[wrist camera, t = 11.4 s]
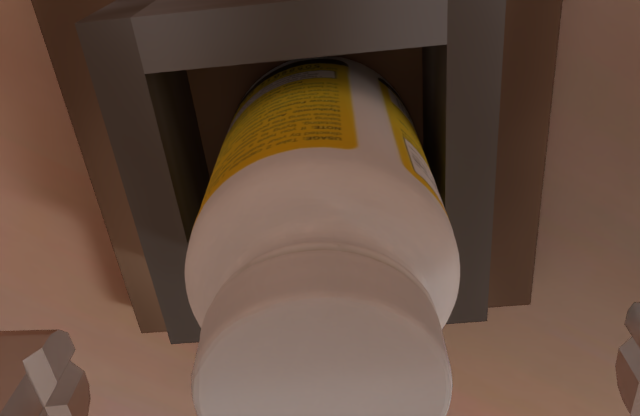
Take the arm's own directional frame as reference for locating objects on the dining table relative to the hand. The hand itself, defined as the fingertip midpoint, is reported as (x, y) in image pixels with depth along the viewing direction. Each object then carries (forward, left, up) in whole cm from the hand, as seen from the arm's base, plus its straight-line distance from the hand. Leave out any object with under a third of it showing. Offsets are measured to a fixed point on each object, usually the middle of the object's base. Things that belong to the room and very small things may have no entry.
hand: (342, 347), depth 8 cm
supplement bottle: (0, +1, -10) cm, 10 cm away
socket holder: (+1, +1, -11) cm, 11 cm away
